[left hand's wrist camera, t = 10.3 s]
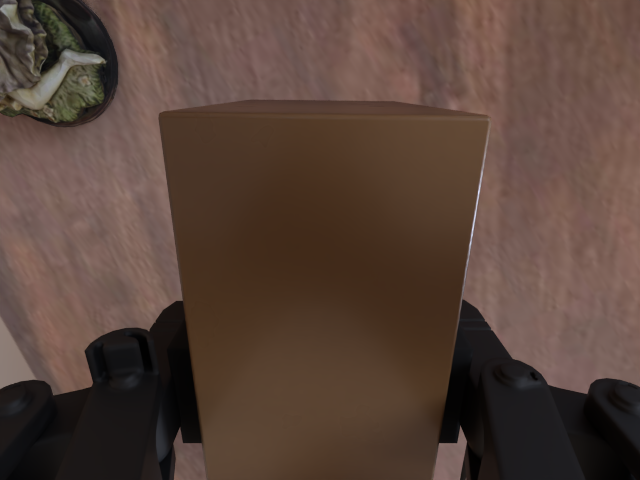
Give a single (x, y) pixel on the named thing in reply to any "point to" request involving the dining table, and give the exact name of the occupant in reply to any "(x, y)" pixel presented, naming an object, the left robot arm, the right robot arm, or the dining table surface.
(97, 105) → the figurine
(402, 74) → the dining table surface
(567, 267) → the dining table surface
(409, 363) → the beam
